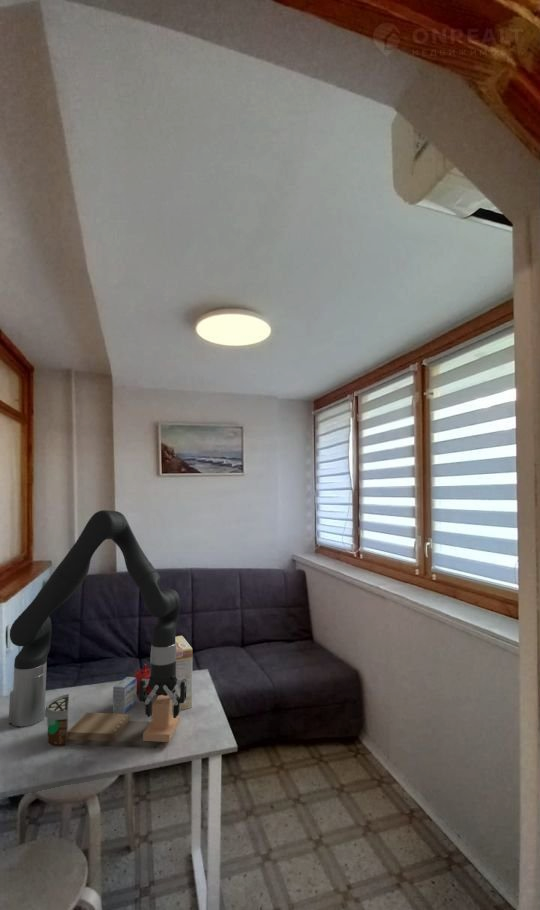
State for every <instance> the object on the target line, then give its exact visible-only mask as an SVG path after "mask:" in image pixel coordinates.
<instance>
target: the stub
mask: <svg viewBox="0 0 540 910" xmlns="http://www.w3.org/2000/svg"><path fill="white" fill-rule="evenodd" d="M151 716H152V719H151V722H150V724H149V725H148V727H147V728H146V730H145V731H144V733H143V741H157V742H159V743H161V742H162V743H170V742H171V740H172V738H173V736H174V734H175V732H176V731H177V729H178V727H179V725H180V722H181V715H179V714H178V716H177V717H176V718H173V712H172V700H171V699H170V698H169V696H168V695H167V696H164V695H160V696H157V697H156V699H155V700H154V702H152V715H151Z"/></svg>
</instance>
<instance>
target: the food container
mask: <svg viewBox="0 0 540 910" xmlns="http://www.w3.org/2000/svg"><path fill="white" fill-rule="evenodd" d="M69 695H70V694H69V693H67V694H62V695H59V696H57V697H55V698H53V699H52V700H50V701H49V702H48V703H47V705H46V706H45V716H44V717H45V718H47V719H46V721H47V742H48V744H49V746H53V747H64V746H65V745H66V746H67V733H68V731H69V730H68V725H69V723H68V721H69V698H70V697H69ZM66 746H65V747H66Z"/></svg>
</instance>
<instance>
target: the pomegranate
mask: <svg viewBox="0 0 540 910" xmlns="http://www.w3.org/2000/svg"><path fill="white" fill-rule="evenodd" d="M134 670H136V671H137V672H135V673H134V674H133V675H132V677H135V678H137V695H139V682H140V681H141V680H142V679H143V678H146V679H150V668H147V663H144V664H143V669H141V668H134ZM151 691H152V689H151V687H150V685H149V684H148V685H147V687H146V695H147V694H148V695H149V694H150V693H151Z"/></svg>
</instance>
